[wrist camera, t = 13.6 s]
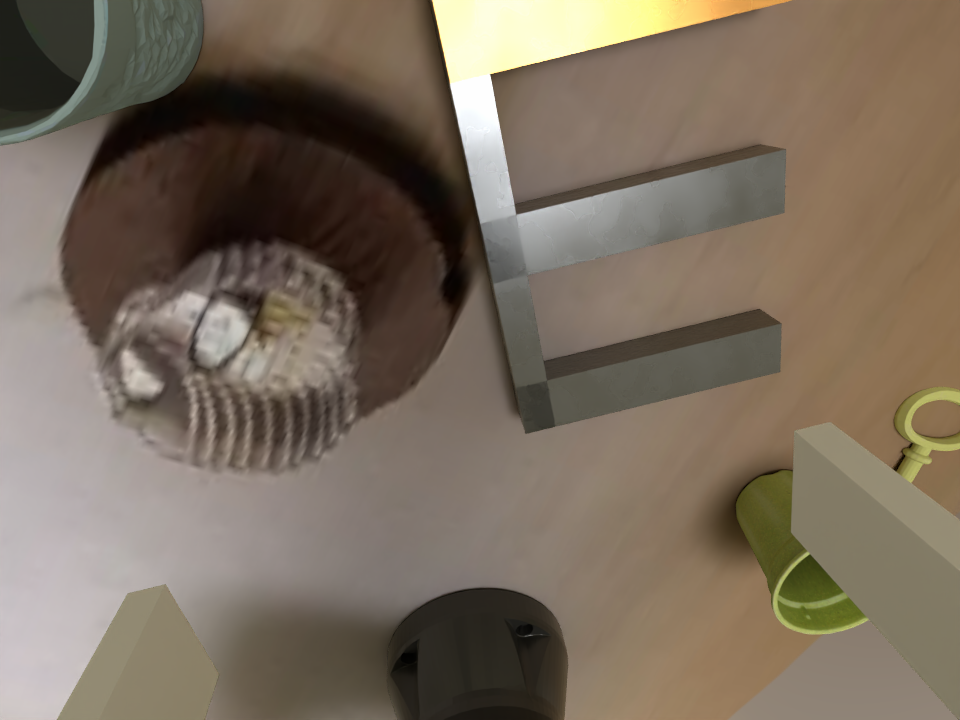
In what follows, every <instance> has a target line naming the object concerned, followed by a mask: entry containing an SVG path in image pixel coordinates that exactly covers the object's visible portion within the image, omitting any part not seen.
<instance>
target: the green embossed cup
mask: <svg viewBox="0 0 960 720" xmlns="http://www.w3.org/2000/svg"><path fill="white" fill-rule="evenodd" d="M202 37H203V13H202V5H201V0H0V145H7V144H14V143H19V142H23V141H27V140H31V139H34V138H37V137H40V136H43V135H46V134H49V133H52V132H55V131H57V130H60V129H63V128H66V127H68V126H71V125H74V124H77V123H79V122H82V121H85V120H89V119H92V118H94V117H97V116H99V115H104V114H107V113H110V112H113V111H116V110H119V109H122V108H125V107H127V106H131V105H135V104H140V103H145V102H149V101H152V100H155V99H158V98H160V97H163V96H165V95H167V94H168V93H170V92H171V91H173V90H175V89H176V88H177V87H178V86H179V85H180V84H181V83H184V81H185V80H186V78H187V77H188V75H189V74H190V72H191V71H192V69H193V67H194V65H195V63H196V61H197V59H198V55H199V52H200V48H201V45H202Z"/></svg>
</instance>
